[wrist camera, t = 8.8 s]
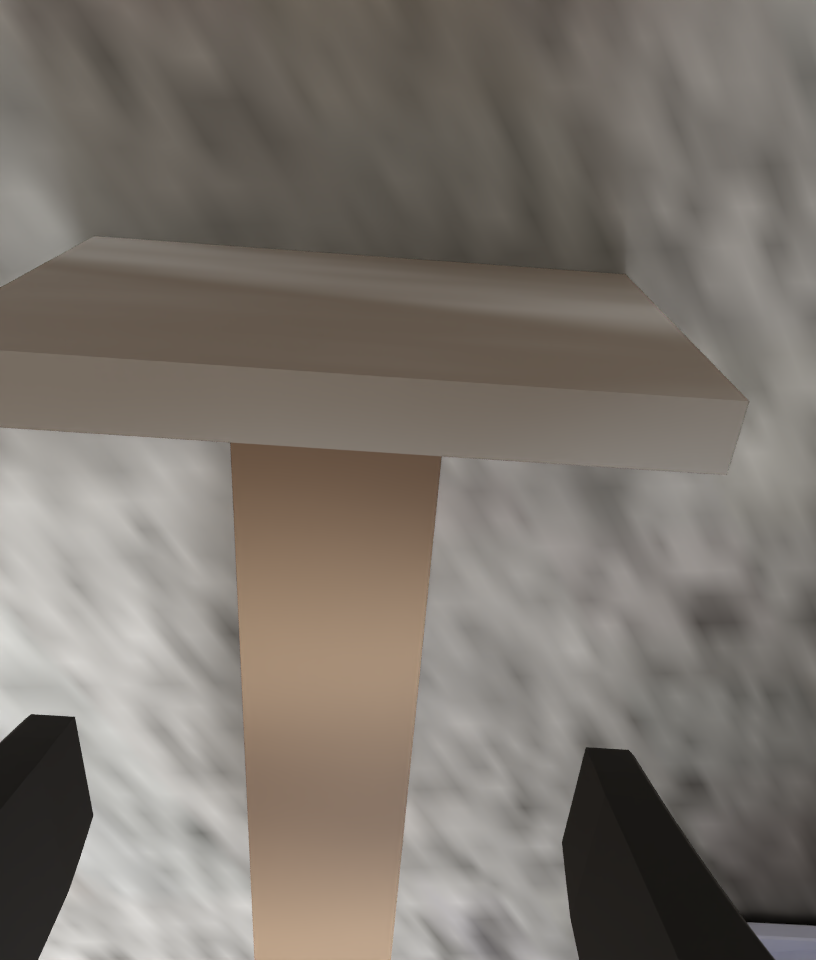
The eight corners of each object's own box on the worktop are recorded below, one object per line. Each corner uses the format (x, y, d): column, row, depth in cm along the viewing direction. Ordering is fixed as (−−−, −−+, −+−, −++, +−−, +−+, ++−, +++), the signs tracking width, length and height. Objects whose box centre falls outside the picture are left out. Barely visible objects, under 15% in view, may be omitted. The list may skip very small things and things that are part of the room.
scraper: (505, 856, 18) (534, 1106, 14) (170, 838, 18) (91, 1086, 14) (624, 273, 12) (749, 401, 7) (95, 235, 12) (-101, 343, 7)
